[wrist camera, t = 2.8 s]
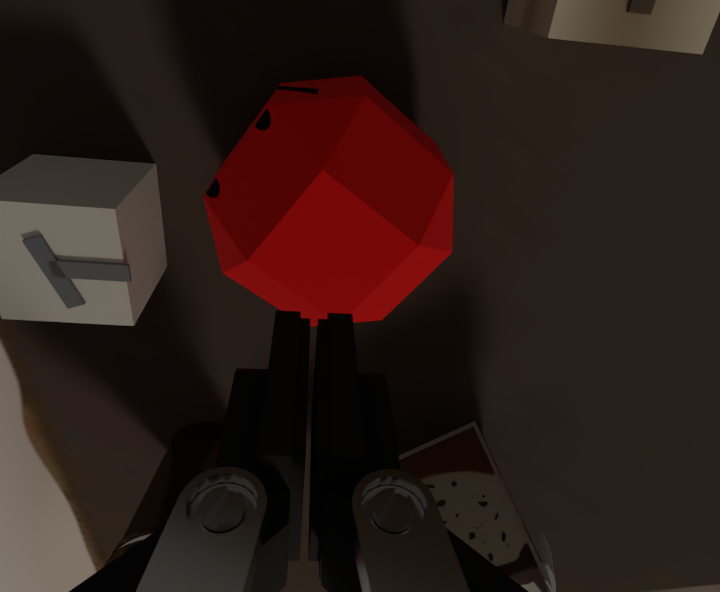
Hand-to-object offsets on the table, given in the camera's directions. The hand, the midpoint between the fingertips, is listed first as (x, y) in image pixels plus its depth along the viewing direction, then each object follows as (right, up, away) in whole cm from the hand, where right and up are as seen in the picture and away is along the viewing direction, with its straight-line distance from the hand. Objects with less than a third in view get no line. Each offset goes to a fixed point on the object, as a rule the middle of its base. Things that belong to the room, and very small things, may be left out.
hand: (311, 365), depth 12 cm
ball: (0, +7, +11) cm, 13 cm away
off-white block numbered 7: (-10, +5, +12) cm, 17 cm away
